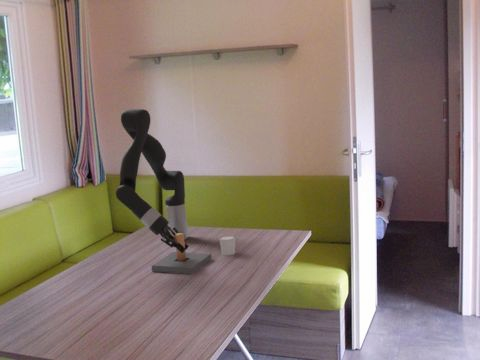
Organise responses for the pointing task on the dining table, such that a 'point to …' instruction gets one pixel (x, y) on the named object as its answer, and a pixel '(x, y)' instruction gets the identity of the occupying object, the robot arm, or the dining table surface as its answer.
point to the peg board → (181, 263)
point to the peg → (180, 239)
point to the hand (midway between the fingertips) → (185, 249)
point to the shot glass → (227, 245)
